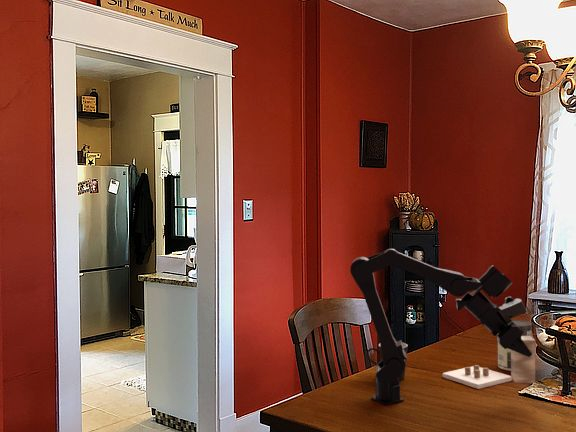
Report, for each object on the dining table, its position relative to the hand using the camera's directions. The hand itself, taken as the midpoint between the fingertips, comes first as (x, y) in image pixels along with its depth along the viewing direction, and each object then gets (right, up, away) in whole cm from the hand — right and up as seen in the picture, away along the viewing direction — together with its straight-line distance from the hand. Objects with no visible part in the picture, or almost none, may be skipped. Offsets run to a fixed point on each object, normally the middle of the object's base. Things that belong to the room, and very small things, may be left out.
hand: (528, 352), depth 165 cm
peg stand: (-6, -13, +23) cm, 27 cm away
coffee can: (+9, -12, +35) cm, 38 cm away
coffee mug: (-32, -13, +27) cm, 44 cm away
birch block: (-1, -7, 0) cm, 7 cm away
